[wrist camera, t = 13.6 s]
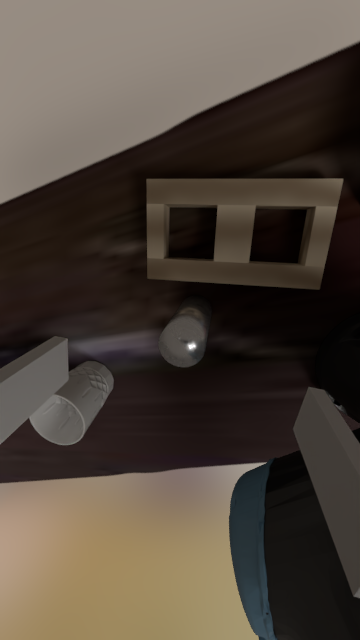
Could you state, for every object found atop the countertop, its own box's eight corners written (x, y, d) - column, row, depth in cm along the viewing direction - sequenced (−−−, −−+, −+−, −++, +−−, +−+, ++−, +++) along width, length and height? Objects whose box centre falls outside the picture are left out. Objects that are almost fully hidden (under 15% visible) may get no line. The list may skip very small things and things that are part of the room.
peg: (210, 327, 34) (203, 369, 23) (179, 324, 35) (158, 364, 24) (213, 296, 33) (207, 325, 22) (180, 294, 34) (158, 321, 22)
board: (310, 285, 30) (319, 289, 28) (153, 275, 33) (147, 278, 31) (331, 185, 27) (343, 178, 24) (153, 184, 30) (146, 178, 27)
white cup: (68, 386, 42) (23, 428, 33) (79, 349, 39) (33, 383, 30) (109, 406, 42) (76, 454, 32) (124, 370, 39) (91, 411, 30)
